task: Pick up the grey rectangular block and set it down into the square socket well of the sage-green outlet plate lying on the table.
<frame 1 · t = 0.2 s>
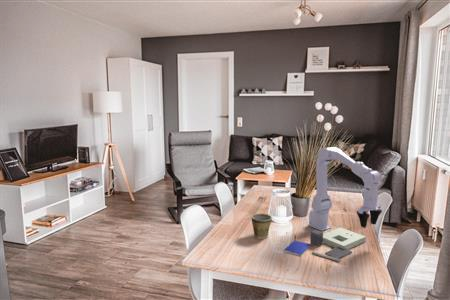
hand: (368, 225, 149), 10 cm above the table, fingers open, 7 cm apart
ceramic cup: (261, 235, 162), on the table
hard drive: (297, 250, 147), on the table
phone: (338, 253, 143), on the table
outlet plate: (341, 241, 156), on the table
grey rectangular block: (316, 244, 152), on the table
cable: (323, 256, 139), on the table
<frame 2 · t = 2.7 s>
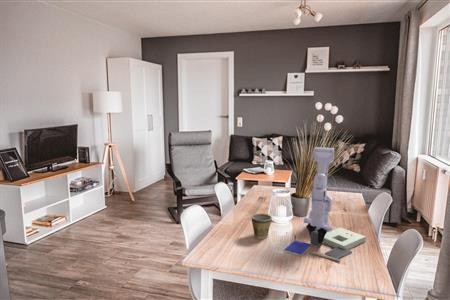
hand: (316, 241, 152), 1 cm above the table, fingers closed on grey rectangular block, 4 cm apart
grey rectangular block: (316, 244, 152), on the table, touching gripper
everything else where it was.
when the fingers open (3 cm above the table, at t = 5.5 s): grey rectangular block stays where it is, resting on outlet plate.
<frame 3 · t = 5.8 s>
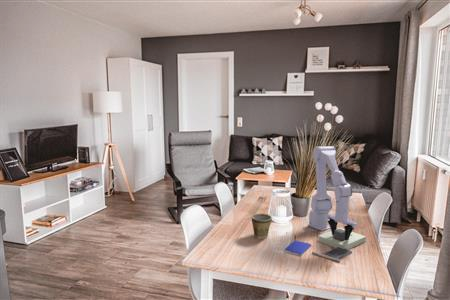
hand: (340, 237, 153), 3 cm above the table, fingers open, 6 cm apart
grey rectangular block: (339, 242, 153), resting on outlet plate
everything else where it was.
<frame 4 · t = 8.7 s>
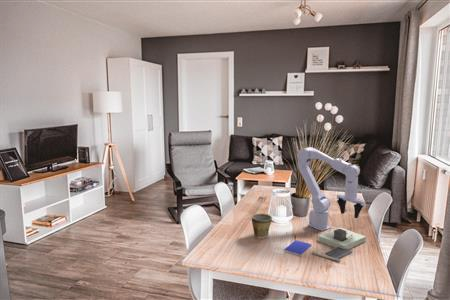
hand: (349, 215, 163), 10 cm above the table, fingers open, 7 cm apart
nothing on the table moved.
at the end: grey rectangular block 0.3 cm from the target spot on the outlet plate, point 0.3 cm above the outlet plate's base; grey rectangular block tilted 0°; the gripper is holding nothing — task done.
